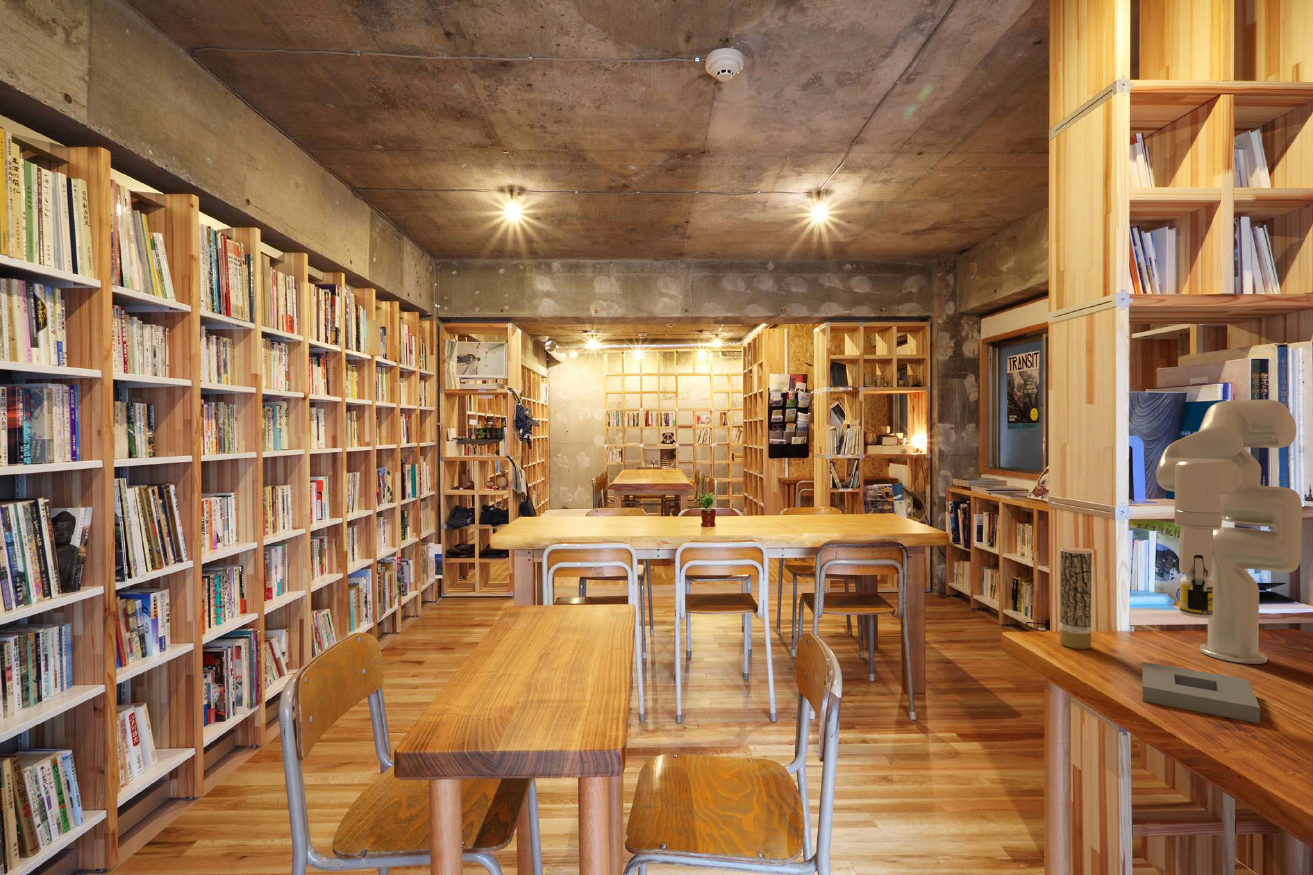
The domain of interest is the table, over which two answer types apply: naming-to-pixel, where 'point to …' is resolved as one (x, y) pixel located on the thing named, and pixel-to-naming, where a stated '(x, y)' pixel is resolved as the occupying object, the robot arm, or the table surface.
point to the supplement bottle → (1184, 599)
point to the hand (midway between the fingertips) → (1196, 605)
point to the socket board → (1200, 692)
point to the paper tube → (1075, 597)
